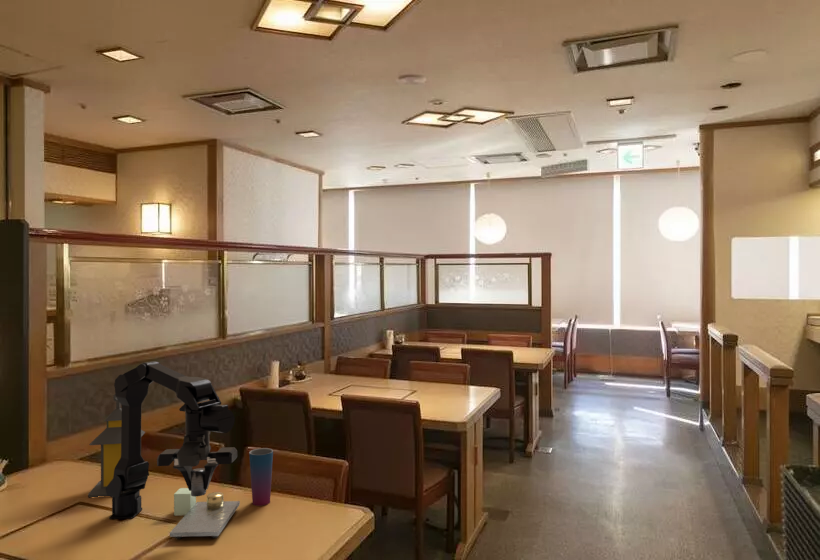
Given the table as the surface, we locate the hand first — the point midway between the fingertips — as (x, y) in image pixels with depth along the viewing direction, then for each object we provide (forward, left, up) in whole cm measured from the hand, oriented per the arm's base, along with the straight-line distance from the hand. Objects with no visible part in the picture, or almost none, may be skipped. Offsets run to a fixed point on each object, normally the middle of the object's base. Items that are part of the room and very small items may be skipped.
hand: (198, 490), depth 146 cm
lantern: (-37, +35, -12) cm, 52 cm away
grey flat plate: (0, +6, -11) cm, 13 cm away
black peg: (0, 0, -1) cm, 1 cm away
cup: (+11, +21, -12) cm, 26 cm away
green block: (-9, +15, -12) cm, 21 cm away
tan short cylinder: (0, +13, -9) cm, 16 cm away
